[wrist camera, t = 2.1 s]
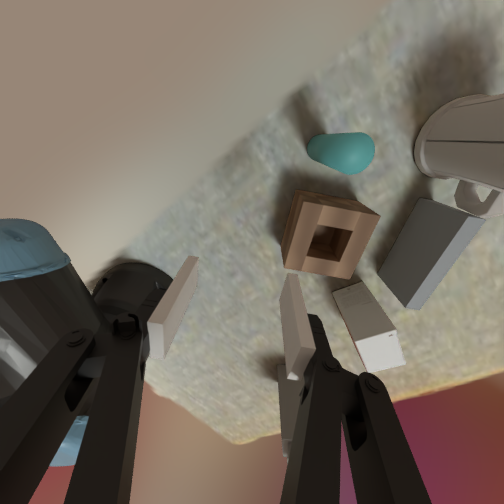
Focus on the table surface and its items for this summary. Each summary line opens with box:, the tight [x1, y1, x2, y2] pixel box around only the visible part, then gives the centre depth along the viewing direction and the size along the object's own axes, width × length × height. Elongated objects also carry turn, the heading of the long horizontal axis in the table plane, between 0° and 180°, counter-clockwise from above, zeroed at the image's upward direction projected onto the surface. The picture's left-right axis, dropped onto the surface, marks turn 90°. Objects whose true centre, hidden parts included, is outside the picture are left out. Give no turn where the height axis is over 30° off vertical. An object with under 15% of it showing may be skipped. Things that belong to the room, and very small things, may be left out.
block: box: [281, 189, 381, 280], centre depth 29 cm, size 9×9×6 cm
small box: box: [332, 282, 406, 373], centre depth 34 cm, size 8×6×10 cm
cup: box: [414, 94, 504, 218], centre depth 21 cm, size 10×9×12 cm
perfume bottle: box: [277, 365, 305, 464], centre depth 41 cm, size 7×7×18 cm
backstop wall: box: [377, 198, 486, 310], centre depth 29 cm, size 2×13×8 cm, turn 170°
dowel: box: [307, 132, 375, 175], centre depth 22 cm, size 3×3×12 cm
